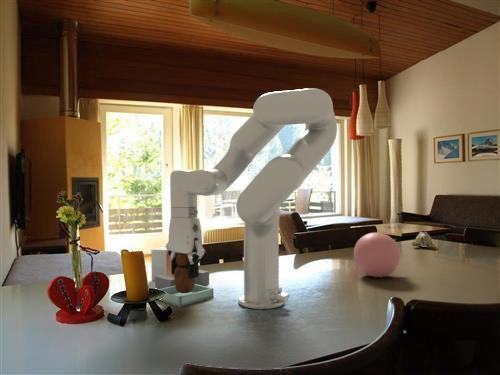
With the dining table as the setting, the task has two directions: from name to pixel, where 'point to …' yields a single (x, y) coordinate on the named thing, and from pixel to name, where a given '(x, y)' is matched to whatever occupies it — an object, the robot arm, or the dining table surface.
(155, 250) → the small box
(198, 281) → the grey blocks
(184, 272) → the wooden figurine
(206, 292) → the tray
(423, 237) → the ceramic sculpture
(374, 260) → the pink rubber ball
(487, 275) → the dining table surface
